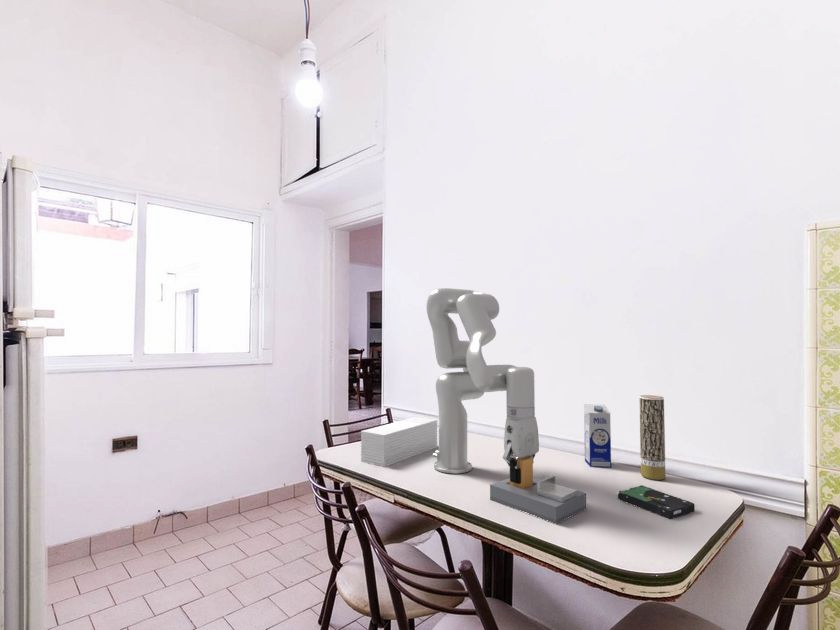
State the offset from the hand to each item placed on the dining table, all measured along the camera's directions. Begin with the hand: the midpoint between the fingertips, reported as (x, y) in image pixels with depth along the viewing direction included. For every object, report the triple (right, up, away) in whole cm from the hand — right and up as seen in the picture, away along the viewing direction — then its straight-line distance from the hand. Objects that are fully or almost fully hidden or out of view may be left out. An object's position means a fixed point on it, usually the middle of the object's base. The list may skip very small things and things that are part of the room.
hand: (521, 479), depth 119 cm
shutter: (+7, -1, -8) cm, 11 cm away
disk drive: (+34, -6, -4) cm, 35 cm away
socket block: (+3, -5, -4) cm, 7 cm away
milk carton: (+34, -7, +31) cm, 46 cm away
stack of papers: (-34, -7, +44) cm, 56 cm away
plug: (0, -2, 0) cm, 2 cm away
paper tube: (+45, -6, +18) cm, 49 cm away
